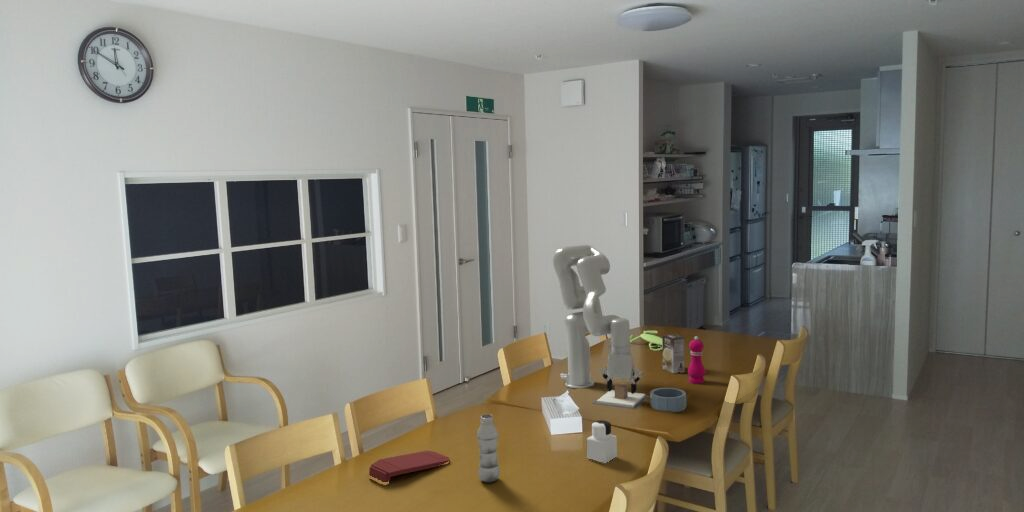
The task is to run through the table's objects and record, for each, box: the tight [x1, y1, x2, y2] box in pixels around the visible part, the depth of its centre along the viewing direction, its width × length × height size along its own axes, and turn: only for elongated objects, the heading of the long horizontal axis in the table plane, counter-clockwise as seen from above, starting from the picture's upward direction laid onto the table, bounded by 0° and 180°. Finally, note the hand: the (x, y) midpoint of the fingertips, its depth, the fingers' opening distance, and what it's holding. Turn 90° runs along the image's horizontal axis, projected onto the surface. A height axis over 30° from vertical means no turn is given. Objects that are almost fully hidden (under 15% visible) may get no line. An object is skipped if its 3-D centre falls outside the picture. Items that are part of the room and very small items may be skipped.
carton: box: [368, 450, 451, 482], centre depth 228 cm, size 12×5×25 cm
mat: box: [591, 390, 650, 410], centre depth 287 cm, size 18×18×1 cm
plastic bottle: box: [476, 413, 501, 483], centre depth 216 cm, size 6×7×20 cm
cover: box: [596, 382, 646, 408], centre depth 287 cm, size 15×15×6 cm
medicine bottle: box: [586, 419, 618, 464], centre depth 230 cm, size 7×7×12 cm
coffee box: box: [661, 333, 685, 374], centre depth 327 cm, size 9×6×16 cm
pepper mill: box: [687, 335, 706, 385], centre depth 308 cm, size 7×7×20 cm
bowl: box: [649, 387, 687, 413], centre depth 278 cm, size 13×13×6 cm
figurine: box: [630, 330, 663, 352], centre depth 377 cm, size 18×27×6 cm
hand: (621, 391), depth 287 cm, fingers open, 9 cm apart
